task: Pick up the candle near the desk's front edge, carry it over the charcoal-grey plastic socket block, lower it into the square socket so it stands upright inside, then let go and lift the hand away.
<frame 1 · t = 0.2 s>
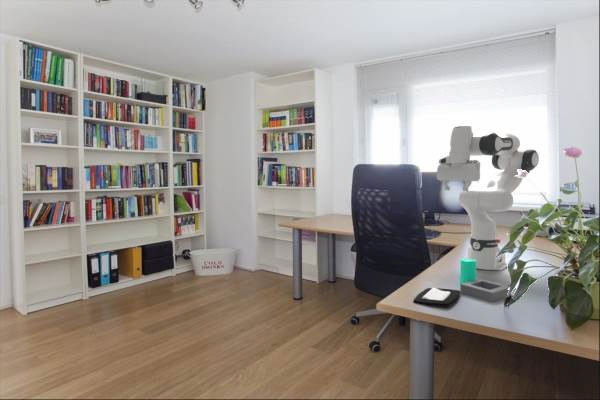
hand: (456, 190, 173), 39 cm above the table, tool pointing down, fingers open, 8 cm apart
candle: (467, 284, 160), on the table
socket block: (485, 294, 147), on the table
light switch: (437, 300, 142), on the table
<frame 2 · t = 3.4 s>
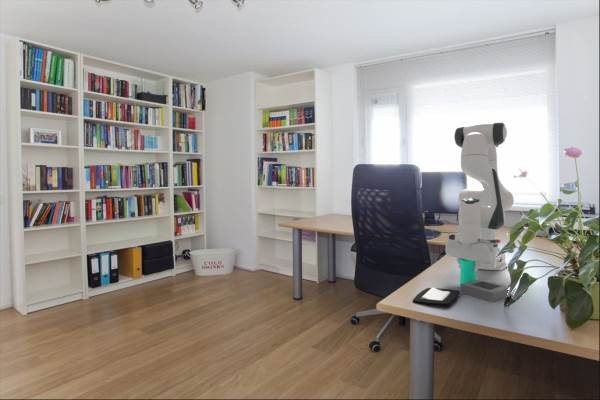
hand: (468, 269, 159), 6 cm above the table, tool pointing down, fingers closed on candle, 5 cm apart
candle: (467, 284, 160), on the table, touching gripper
everything else where it was.
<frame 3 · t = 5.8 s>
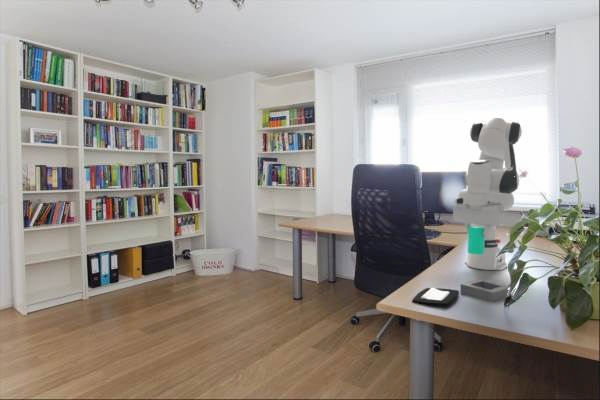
hand: (476, 235, 152), 22 cm above the table, tool pointing down, fingers closed on candle, 5 cm apart
candle: (475, 253, 153), point 15 cm above the table, touching gripper
everything else where it was.
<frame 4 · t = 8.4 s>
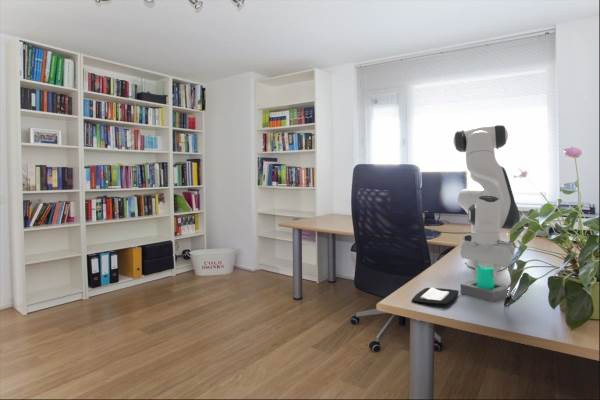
hand: (485, 274, 146), 8 cm above the table, tool pointing down, fingers closed on candle, 5 cm apart
candle: (484, 294, 147), resting in socket block, touching gripper
everything else where it was.
when the fingers open (8 cm above the table, at t = 9.6 s): candle stays where it is, resting in socket block.
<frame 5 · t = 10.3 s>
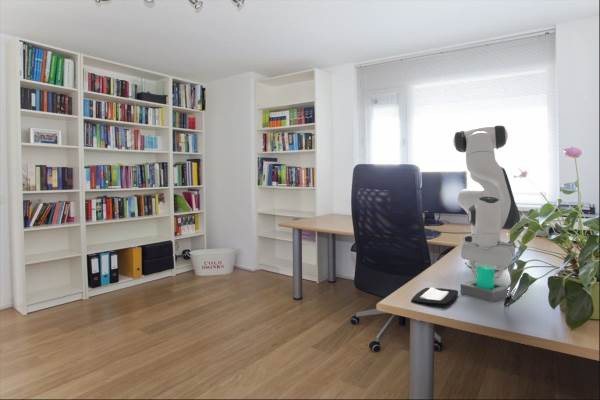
hand: (486, 274, 146), 8 cm above the table, tool pointing down, fingers open, 8 cm apart
candle: (484, 294, 147), resting in socket block
everything else where it was.
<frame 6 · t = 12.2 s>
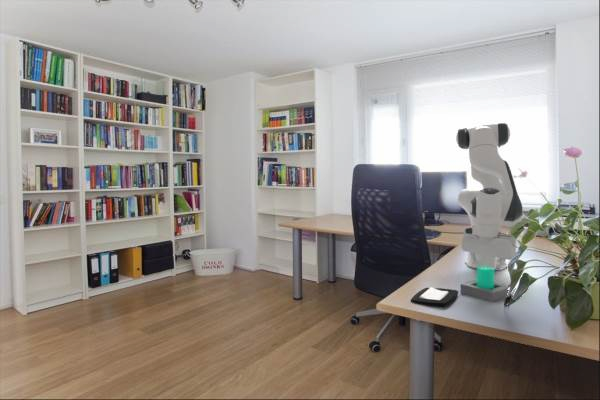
hand: (486, 266, 146), 11 cm above the table, tool pointing down, fingers open, 8 cm apart
nothing on the table moved.
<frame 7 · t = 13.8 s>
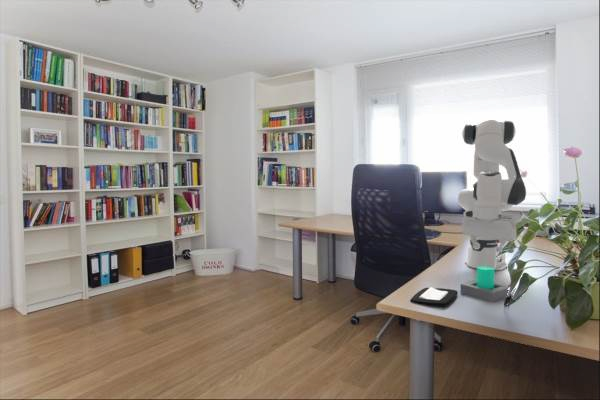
hand: (487, 249, 146), 18 cm above the table, tool pointing down, fingers open, 8 cm apart
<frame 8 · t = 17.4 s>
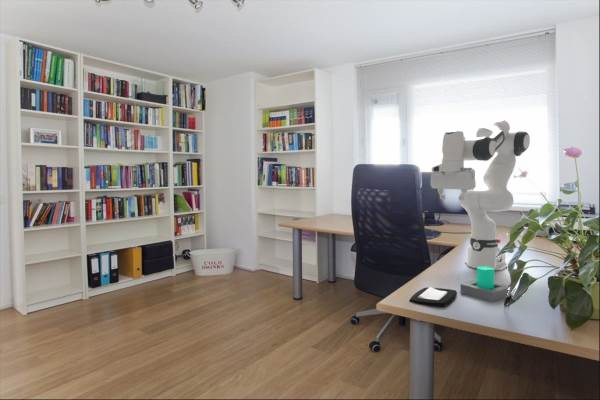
hand: (451, 199, 166), 35 cm above the table, tool pointing down, fingers open, 8 cm apart
at the end: candle 0.3 cm off-centre on the socket block, point 0.0 cm above the socket block's base; candle tilted 0°; the gripper is holding nothing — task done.
